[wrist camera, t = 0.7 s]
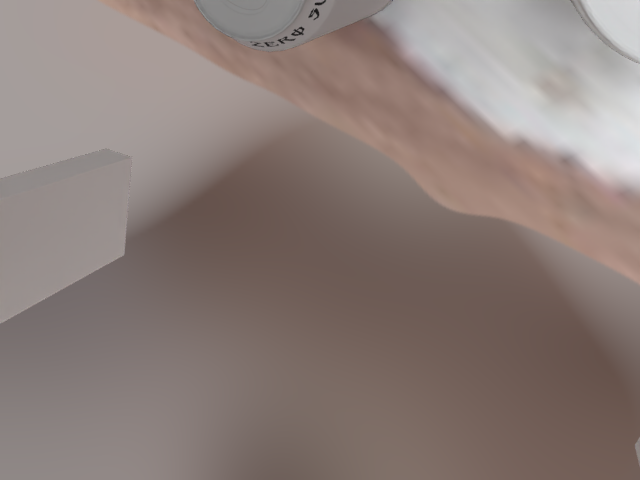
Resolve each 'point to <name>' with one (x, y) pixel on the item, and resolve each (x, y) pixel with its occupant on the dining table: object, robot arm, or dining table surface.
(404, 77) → the dining table surface
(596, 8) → the supplement tub
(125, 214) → the robot arm
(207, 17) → the energy drink can
